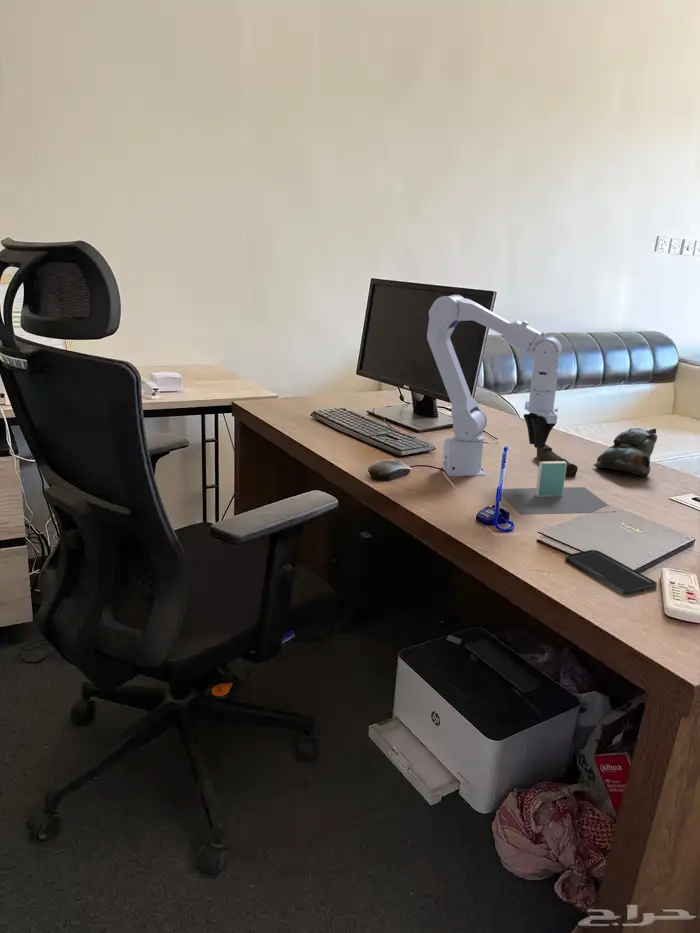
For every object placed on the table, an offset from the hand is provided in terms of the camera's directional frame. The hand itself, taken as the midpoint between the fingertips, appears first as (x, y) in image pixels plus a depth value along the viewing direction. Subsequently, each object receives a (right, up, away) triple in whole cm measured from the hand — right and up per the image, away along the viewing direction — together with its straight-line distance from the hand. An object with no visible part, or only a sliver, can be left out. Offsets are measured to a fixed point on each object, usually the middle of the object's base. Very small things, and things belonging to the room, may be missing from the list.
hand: (536, 445), depth 162 cm
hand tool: (+8, -6, +16) cm, 18 cm away
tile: (+1, -12, -7) cm, 13 cm away
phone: (+1, -24, -43) cm, 49 cm away
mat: (+1, -13, -9) cm, 16 cm away
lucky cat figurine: (+26, -7, +13) cm, 30 cm away
